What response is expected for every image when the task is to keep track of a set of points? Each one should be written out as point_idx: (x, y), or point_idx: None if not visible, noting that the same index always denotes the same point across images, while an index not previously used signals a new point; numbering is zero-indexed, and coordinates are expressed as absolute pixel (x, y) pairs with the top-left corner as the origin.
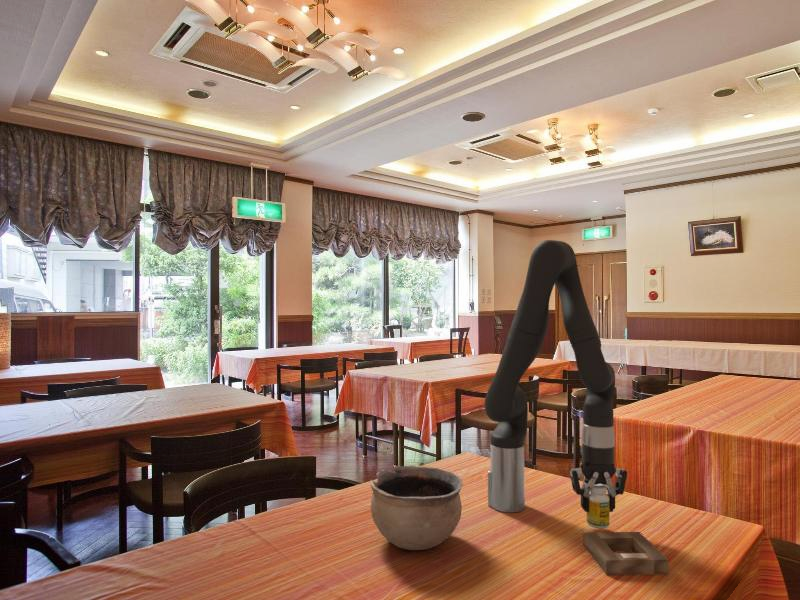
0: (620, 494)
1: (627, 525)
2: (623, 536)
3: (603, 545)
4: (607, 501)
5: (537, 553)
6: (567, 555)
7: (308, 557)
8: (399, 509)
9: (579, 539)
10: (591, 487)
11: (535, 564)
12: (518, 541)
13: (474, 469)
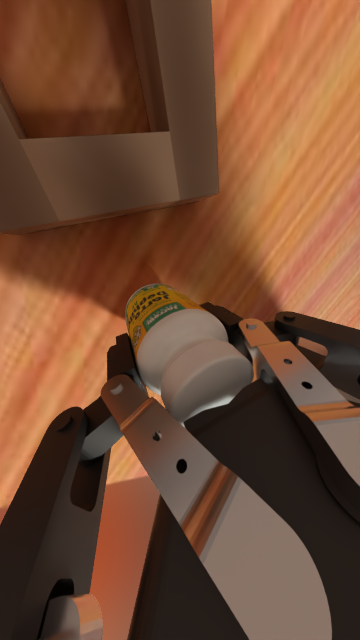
0: (72, 407)
1: (72, 362)
2: (69, 159)
3: (171, 13)
4: (149, 332)
5: (303, 134)
6: (249, 119)
7: None
8: None
9: (199, 242)
10: (267, 348)
11: (333, 44)
12: (309, 207)
13: None
